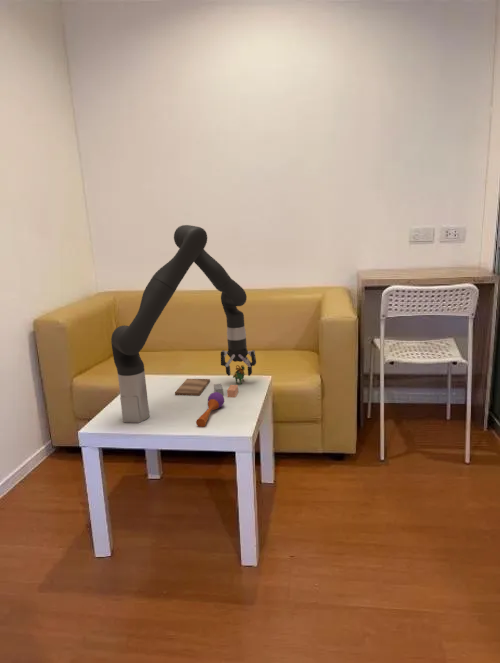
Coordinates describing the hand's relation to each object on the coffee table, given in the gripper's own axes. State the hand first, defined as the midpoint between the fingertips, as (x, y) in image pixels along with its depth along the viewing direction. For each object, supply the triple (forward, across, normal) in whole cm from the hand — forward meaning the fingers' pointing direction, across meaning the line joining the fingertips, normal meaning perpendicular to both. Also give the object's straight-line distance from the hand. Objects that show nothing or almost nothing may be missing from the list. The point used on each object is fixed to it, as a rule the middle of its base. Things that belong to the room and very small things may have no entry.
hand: (239, 375), depth 213 cm
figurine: (+4, 0, 0) cm, 4 cm away
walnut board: (+4, -18, -6) cm, 20 cm away
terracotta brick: (+4, 0, -12) cm, 13 cm away
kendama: (+4, -4, -32) cm, 33 cm away
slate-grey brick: (+4, -6, -11) cm, 13 cm away
